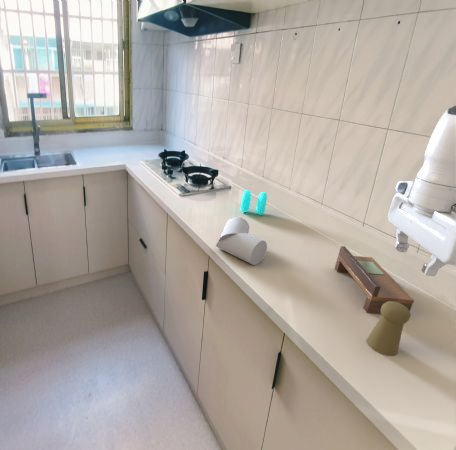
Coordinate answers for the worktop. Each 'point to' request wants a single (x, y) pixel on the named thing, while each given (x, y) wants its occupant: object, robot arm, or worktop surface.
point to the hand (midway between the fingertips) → (413, 261)
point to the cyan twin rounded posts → (247, 199)
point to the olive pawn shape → (389, 328)
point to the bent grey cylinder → (242, 241)
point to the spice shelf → (372, 281)
